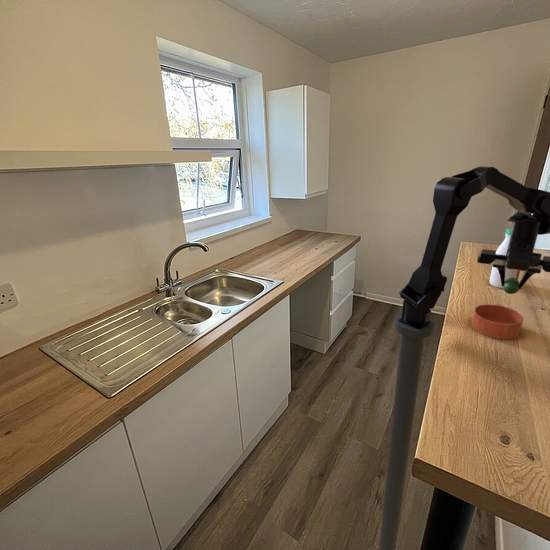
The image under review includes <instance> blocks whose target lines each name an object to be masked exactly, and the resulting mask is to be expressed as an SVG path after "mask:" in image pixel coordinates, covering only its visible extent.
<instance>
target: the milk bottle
mask: <svg viewBox="0 0 550 550" xmlns="http://www.w3.org/2000/svg"><path fill="white" fill-rule="evenodd" d="M512 228H513V227H510V228H506V230H505V237H504V239H503V241H502V242H501V244H500V245H499V246H498V247H497V248H496V250H495V251H496V254H498V255H506V253H507V249H508V245H509V241H510V237H511V232H512ZM493 263H494V262H493ZM493 263H492V264H493ZM506 263H507V262H506ZM520 273H521V270H517V269H508V268H506V271H505V280H506V279H507V278H511V277H512V278H516V279H517V280H518V281H519V276H520ZM489 284H490V285H491V286H492V287H495V288H499V289H503V286H502V284H501V279H500V274H499V271H498V269H497V268H495V267H493V266H492V267H491V272H490V275H489Z"/></svg>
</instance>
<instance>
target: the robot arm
mask: <svg viewBox="0 0 550 550" xmlns="http://www.w3.org/2000/svg"><path fill="white" fill-rule="evenodd" d="M485 189H488V190H490V191H492V192H493V193H495V194H498V195H499V196H501V197H503V198H505V199H507V201H508V204H509V205H510V206H511V207H512V208H513V209H514V210H515V211H519V212H515V213H514V214H513V215H512V216H510V217H508V219H507V221H508V222H510V223H512V227H511V228H512V232H511V237H510V241H509V245H508V249H507V253H506V255H498V254H496V251H497V250H493V249H486V248H485V249H484V248H483V249H481V250H480V251H479V253H478V256H477V263H479V264H485V265H491V264H492V267H495V268H497V269H498V271H499V274H500V279H501V284H502V286H504V282H505V271H506V268H508V269H517V270H520V272H523V274H522V276H521V278H520V280H519V290H521V289H522V287H524V285H525V284H526V283H527V281H528V280H529V279H530V278H531V277H532V276H534V275H535V274H541V272H542V270H543V271H544V272H545V273H550V255H543V257H542V253H538V252H534V251H535V247H536V242H537V239H538V235H539V236H541V235H549V234H550V191H547V190H543V189H538V188H534V187H529V186H526V185H524V184H523V183H521V182H519V181H517V180H515V179H513V178H512V177H510V176H509V175H507V174H505V173H503V172H501V171H499V170H498V168H496V167H494V166H482V165H481V166H477V167H474V168H472V169H470V170H467V171H464V172H461V173H458V174H454V175H452V176H445V177H442V178H441V179H440V180H439V181H437V182H436V183H435V186H434V189H433V197H432V203H433V207H434V212H435V213H434V218H433V220H432V224H431V228H430V232H429V235H428V238H427V242H426V246H425V250H424V253H423V257H422V260H421V263H420V265H419V266H418V267H417V268H416V269H415V270H414V271H413V272H412V274H411V277H410V279H409V281H408V282H407V283H406V284H405V285H404V286H403V287H402V288H401V289H400V290H399V291H398V293H399V297H400V298H401V299H402V300H403V302H402V310H401V313H402V317H401V318H400V319H399V320H398V321H399V322H402V323H404V324H406V325H409V326H411V327H413V328H416V329H421V328H422V327H424V326H425V325H427V324H428V323H429V322H431V320H430V318H431V314H432V310H433V309H434V308H435V307H436V304H437V303H438V300H439V298H440V297H441V295H442V293H445V286H446V284H447V282H448V277H447V276H446V275H443V274H442V267H443V264H444V261H445V258H446V255H447V251H448V248H449V244H450V241H451V237H452V235H453V231H454V228H455V225H456V221H457V219H458V217H459V215H460V214H461V213H462V212H463V211H464V210H465V209H466V208H467V207H468V206H469V204H470V201H471V199H472V197H474V196H477V195H478V194H480V193H482V192H483V191H484V190H485ZM521 212H522V213H521ZM493 262H494V263H493ZM506 262H507V263H506Z"/></svg>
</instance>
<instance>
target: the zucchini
mask: <svg viewBox="0 0 550 550" xmlns="http://www.w3.org/2000/svg"><path fill="white" fill-rule="evenodd" d="M519 283H520V280H519V279H518V280H517V279H516V278H512V277H511V278H507V279H506V280H505V282H504V286H503V288H502V289H503V291H504V292H505V294H509V295H514V294H517V293H518V292H519V290H520V289H519Z"/></svg>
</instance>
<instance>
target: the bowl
mask: <svg viewBox="0 0 550 550" xmlns="http://www.w3.org/2000/svg"><path fill="white" fill-rule="evenodd" d="M523 322H524V316H523V315H522V314H521V313H519V312H518V311H516V310H515V309H513V308H509V307H507V306H503V305H499V304H493V303H492V304H491V303H490V304H489V303H486V304H479V305H477V306H476V307H474V310H473V315H472V318H471V327H472V328H473V329H474V330H475V331H476V332H478V333H480V334H481V335H483V336H487V337H490V338H493V339H498V340H513V339H516V338H517V337H519V335H520V333H521V329H522V326H523Z"/></svg>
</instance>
